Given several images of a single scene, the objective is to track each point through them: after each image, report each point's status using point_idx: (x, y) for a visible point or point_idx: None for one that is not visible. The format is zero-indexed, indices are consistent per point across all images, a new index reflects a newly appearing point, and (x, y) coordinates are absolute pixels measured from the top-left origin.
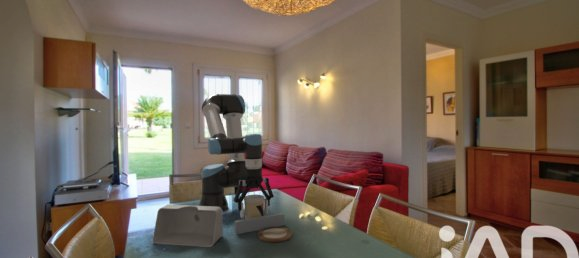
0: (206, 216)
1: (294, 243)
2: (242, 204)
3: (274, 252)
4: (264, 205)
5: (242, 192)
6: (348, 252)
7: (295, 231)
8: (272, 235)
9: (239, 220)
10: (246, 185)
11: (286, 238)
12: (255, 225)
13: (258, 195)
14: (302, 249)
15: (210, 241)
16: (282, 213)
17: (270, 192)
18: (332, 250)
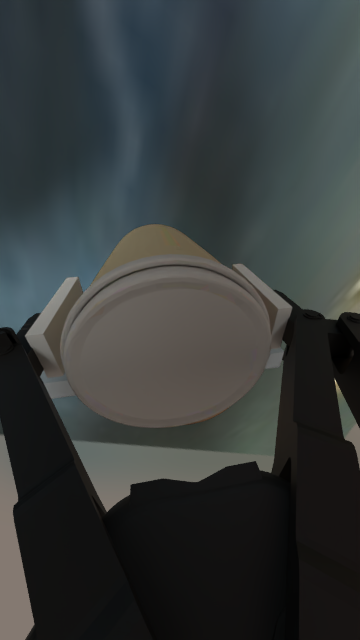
0: None
1: (212, 427)
2: (57, 371)
3: (155, 446)
4: (251, 282)
5: (3, 430)
6: (272, 455)
7: None
8: None
9: (61, 384)
10: (32, 572)
11: (205, 420)
12: None
13: (242, 322)
14: (213, 444)
15: None
16: (279, 358)
17: (348, 391)
18: (256, 450)
